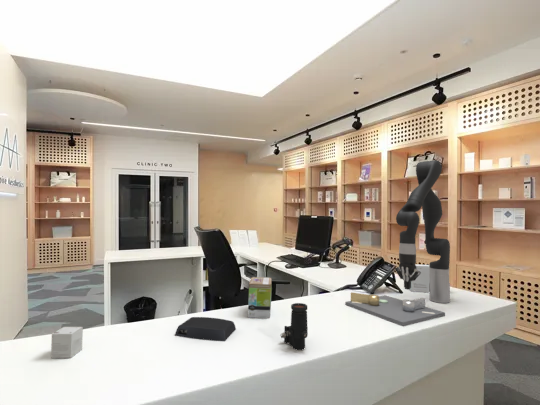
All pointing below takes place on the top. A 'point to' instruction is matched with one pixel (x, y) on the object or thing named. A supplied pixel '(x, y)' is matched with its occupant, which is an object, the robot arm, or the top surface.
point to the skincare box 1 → (66, 342)
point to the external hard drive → (206, 328)
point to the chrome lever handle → (413, 304)
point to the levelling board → (396, 311)
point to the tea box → (259, 297)
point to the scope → (297, 327)
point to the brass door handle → (365, 298)
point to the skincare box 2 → (421, 279)
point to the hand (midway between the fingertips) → (407, 289)
